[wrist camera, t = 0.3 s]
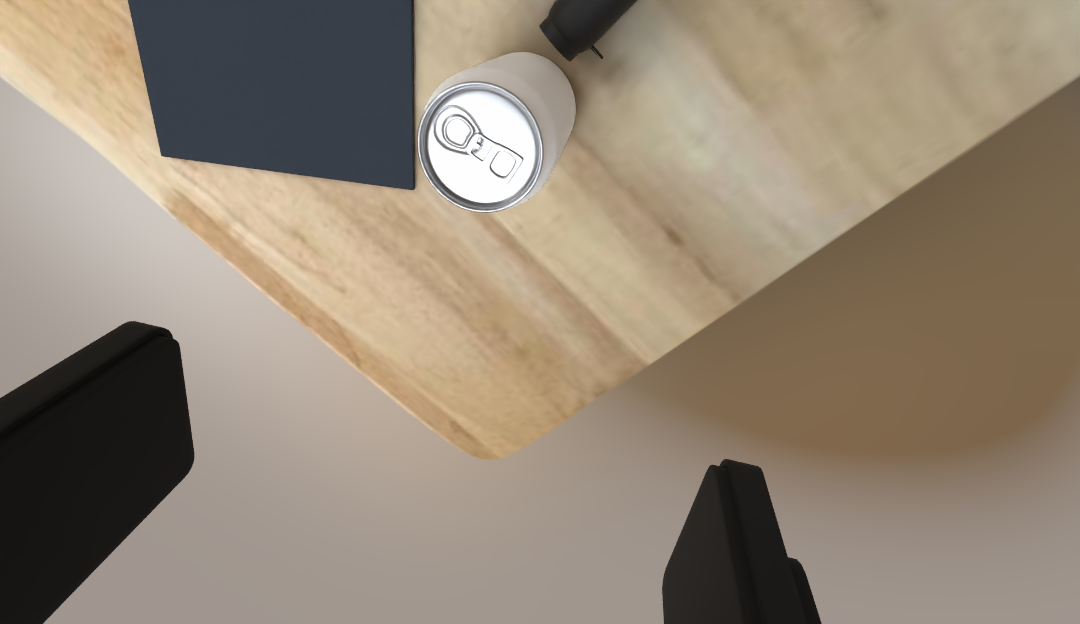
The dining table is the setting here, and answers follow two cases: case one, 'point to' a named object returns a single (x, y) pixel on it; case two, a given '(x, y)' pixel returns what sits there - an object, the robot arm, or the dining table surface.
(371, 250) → the dining table surface
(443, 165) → the can
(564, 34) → the door handle
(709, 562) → the robot arm
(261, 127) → the mat
